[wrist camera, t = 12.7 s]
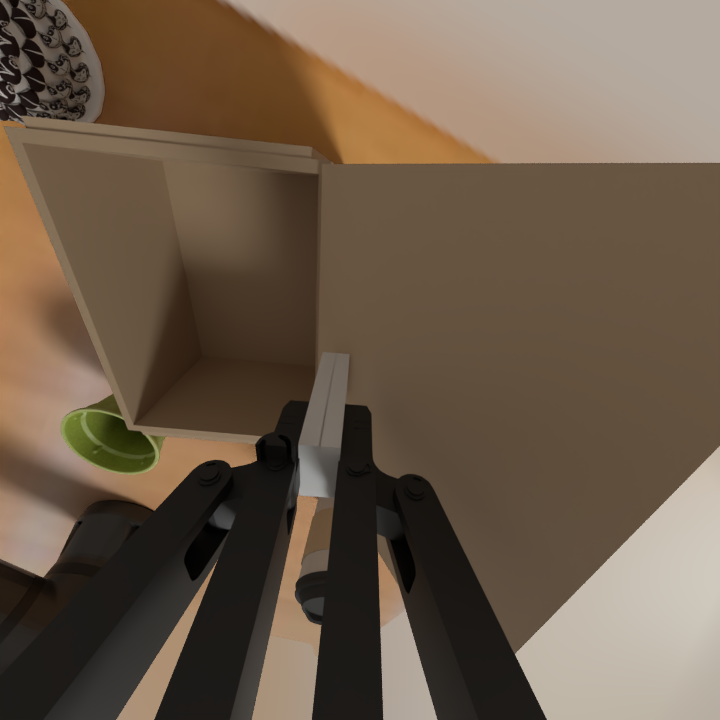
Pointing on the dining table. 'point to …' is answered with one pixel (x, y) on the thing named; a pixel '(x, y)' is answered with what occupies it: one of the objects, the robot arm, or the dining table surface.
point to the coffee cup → (316, 562)
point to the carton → (186, 268)
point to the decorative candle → (47, 64)
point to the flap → (529, 351)
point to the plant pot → (109, 439)
